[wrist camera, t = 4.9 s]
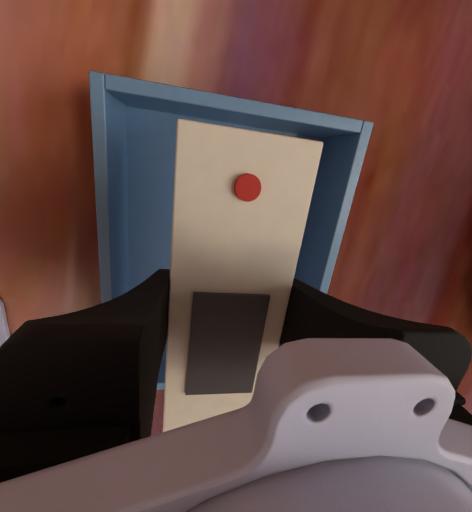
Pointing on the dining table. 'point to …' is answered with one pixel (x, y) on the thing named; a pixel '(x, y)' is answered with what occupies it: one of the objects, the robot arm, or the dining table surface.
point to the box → (163, 166)
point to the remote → (230, 261)
